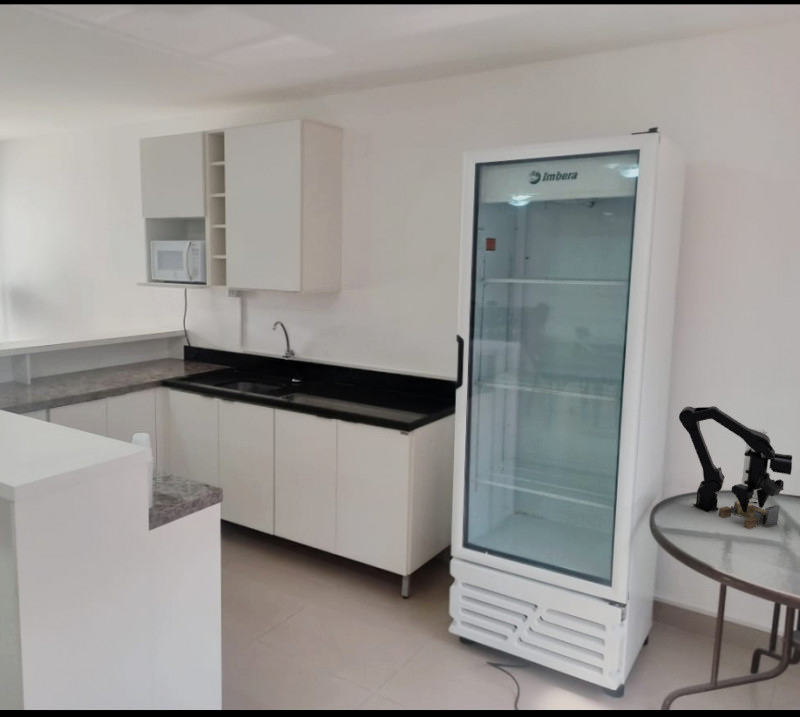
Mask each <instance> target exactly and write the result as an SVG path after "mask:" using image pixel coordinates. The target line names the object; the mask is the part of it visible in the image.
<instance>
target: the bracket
mask: <svg viewBox="0 0 800 717" xmlns="http://www.w3.org/2000/svg"><path fill="white" fill-rule="evenodd" d="M730 508H732V509H731V514H732V515H736V516H739V517H741V518H743V519H744V520H745V519H746V518H749V517H748V516H745V515H743V514H740V513H738V512H737V510H738V508H736V507H734V505H732V506H730ZM764 510H766V518H765V514H763V513H760V512H758V511H754V518H756V519H757V525H759V526H760V527H765V528H769V527H772V526H775V525H776V526H777V525H778V521H779V514H780V505H778V504H776V505H772V506H768V507H766V508H764ZM764 522H765V523H764Z"/></svg>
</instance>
